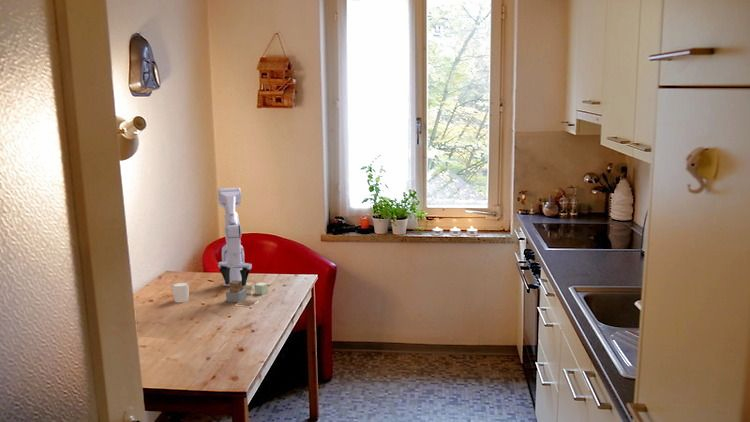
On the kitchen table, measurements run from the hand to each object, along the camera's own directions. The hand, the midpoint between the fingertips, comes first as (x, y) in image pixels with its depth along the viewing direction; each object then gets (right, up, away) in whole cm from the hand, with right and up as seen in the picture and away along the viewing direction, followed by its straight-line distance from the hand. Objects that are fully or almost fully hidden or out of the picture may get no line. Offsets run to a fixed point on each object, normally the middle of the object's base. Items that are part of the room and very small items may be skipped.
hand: (235, 284), depth 278 cm
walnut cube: (0, -3, 0) cm, 3 cm away
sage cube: (+9, -5, +10) cm, 14 cm away
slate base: (0, -7, +1) cm, 7 cm away
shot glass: (-23, -7, +1) cm, 24 cm away
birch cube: (+3, -5, +11) cm, 12 cm away
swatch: (+6, -7, -5) cm, 10 cm away
